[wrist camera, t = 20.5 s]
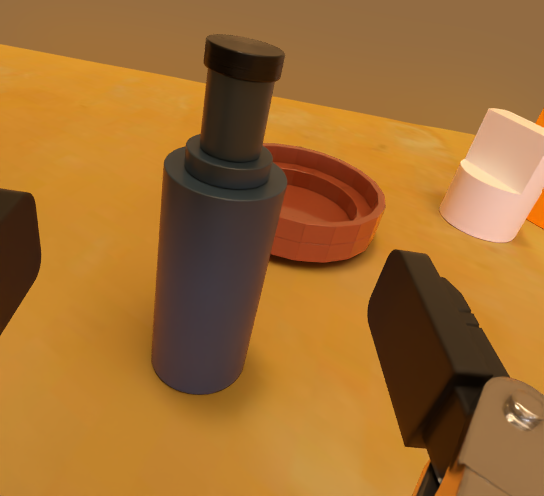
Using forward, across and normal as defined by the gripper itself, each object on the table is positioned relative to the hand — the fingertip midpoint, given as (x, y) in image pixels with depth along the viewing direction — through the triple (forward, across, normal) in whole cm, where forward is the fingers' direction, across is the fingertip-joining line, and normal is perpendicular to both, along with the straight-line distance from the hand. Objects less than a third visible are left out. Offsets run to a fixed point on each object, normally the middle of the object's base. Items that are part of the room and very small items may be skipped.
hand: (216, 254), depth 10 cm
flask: (+11, 0, +16) cm, 19 cm away
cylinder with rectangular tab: (+36, -31, +16) cm, 50 cm away
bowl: (+30, -8, +16) cm, 35 cm away
